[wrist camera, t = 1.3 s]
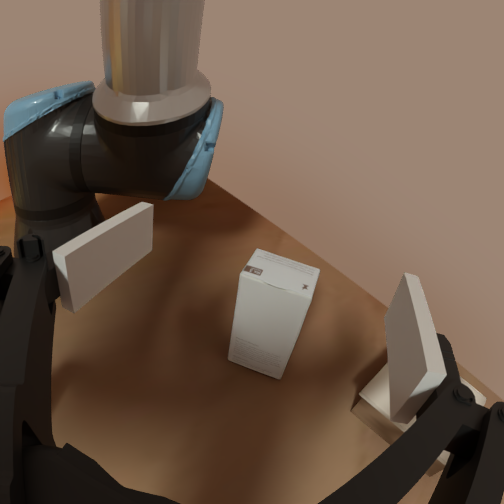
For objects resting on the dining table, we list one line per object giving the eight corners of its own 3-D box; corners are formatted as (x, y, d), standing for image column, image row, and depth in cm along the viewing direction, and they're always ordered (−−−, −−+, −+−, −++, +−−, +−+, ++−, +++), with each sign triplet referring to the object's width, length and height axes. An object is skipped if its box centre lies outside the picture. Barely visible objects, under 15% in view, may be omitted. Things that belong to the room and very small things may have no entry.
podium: (344, 410, 28) (360, 391, 26) (394, 357, 35) (409, 336, 33) (430, 482, 21) (455, 469, 19) (466, 415, 28) (486, 398, 26)
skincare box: (290, 352, 34) (325, 266, 27) (279, 383, 30) (316, 299, 23) (238, 333, 35) (258, 243, 28) (223, 362, 31) (239, 271, 25)
